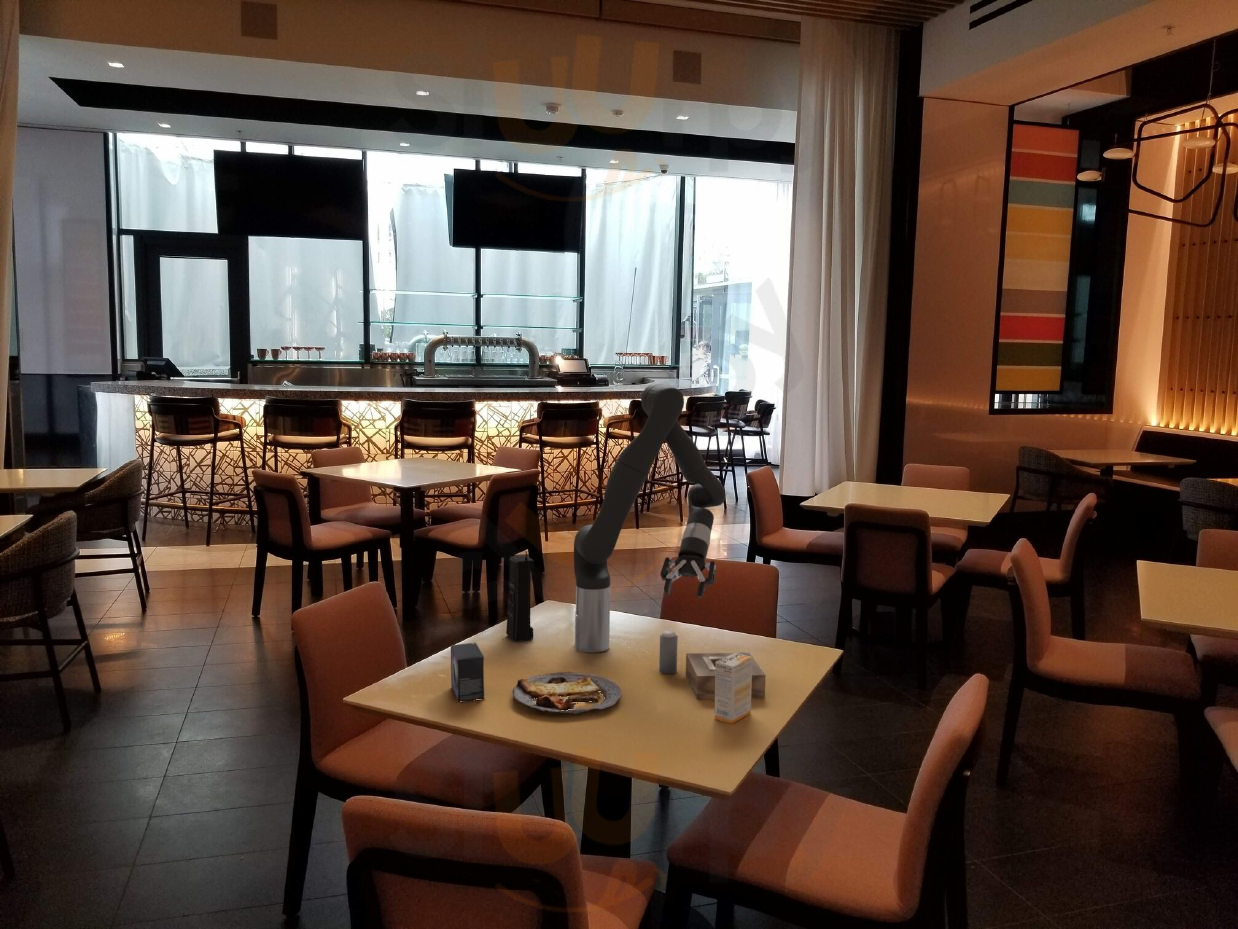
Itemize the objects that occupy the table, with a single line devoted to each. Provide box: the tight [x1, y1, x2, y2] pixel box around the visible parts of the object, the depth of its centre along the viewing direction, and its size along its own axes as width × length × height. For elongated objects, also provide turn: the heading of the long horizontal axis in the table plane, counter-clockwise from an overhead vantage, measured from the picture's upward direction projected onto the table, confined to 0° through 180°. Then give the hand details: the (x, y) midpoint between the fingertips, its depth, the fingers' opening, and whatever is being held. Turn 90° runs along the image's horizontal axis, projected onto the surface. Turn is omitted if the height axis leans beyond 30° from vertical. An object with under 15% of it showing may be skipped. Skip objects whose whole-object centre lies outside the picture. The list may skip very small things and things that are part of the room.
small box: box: [450, 642, 485, 703], centre depth 208 cm, size 11×6×10 cm, turn 19°
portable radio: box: [505, 550, 535, 643], centre depth 250 cm, size 8×6×25 cm
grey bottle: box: [658, 630, 679, 675], centre depth 226 cm, size 4×4×10 cm
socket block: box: [685, 652, 766, 700], centre depth 216 cm, size 16×16×6 cm
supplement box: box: [713, 652, 753, 725], centre depth 197 cm, size 8×5×13 cm, turn 141°
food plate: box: [512, 671, 622, 715], centre depth 207 cm, size 25×23×4 cm
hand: (682, 595), depth 235 cm, fingers open, 8 cm apart
